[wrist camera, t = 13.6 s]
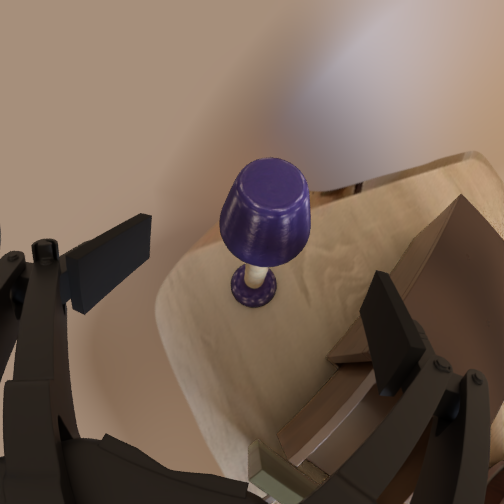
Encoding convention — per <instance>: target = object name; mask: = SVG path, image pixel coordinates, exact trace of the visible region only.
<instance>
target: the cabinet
mask: <svg viewBox="0 0 504 504" xmlns="http://www.w3.org/2000/svg"><path fill="white" fill-rule="evenodd" d="M389 276H390V278H391V280H392V281H393V283H394V285H395V287H396V289H397V291H398V293H399V294H400V296H401V298H402V300H403V302H404V304H405V306H406V308H407V310H408V312H409V314H410V316H411V318H412V319H413V320H416V321H417V322H418V323H419V324H420V325H421V326H422V327H423V329H424V331H425V333H426V335H427V337H428V340H429V341H430V343H431V345H432V347H433V349H434V351H435V354H436V355H438V356H441V357H443V358H445V359H446V360H447V361H449V363H450V364H451V365H452V368H453V373H456V374H458V375H461V376H464V375H465V374H466V372H467V371H468V370H469V369H476V370H478V371H481V372H482V374H484V375H485V377H486V379H487V381H488V385H489V398H490V426H491V424H492V423H493V421H494V419H495V417H496V415H497V413H498V411H499V409H500V407H501V405H502V403H503V401H504V240H503V239H502V238H501V237H500V235H499V234H498V233H497V232H496V231H495V229H494V228H493V227H492V226H491V225H490V224H489V223H488V221H487V220H486V219H485V218H484V217H483V216H482V215H481V214H480V213H479V211H478V210H477V209H476V208H475V207H474V206H473V205H472V204H471V203H470V202H469V201H468V200H467V199H466V198H465V197H464V196H463V195H462V194H460V195H459V196H458V197H457V198H456V199H455V200H454V201H453V202H452V203H451V204H450V205H449V206H448V207H447V208H446V209H445V210H444V211H443V212H442V213H441V214H440V215H439V216H438V217H437V218H436V219H434V220H433V221H432V222H431V223H430V224H429V225H428V226H427V227H426V228H425V229H424V230H423V231H421V232H420V233H419V234H418V235H417V236H416V237H415V238H414V239H413V240H412V242H411V243H410V245H409V247H408V248H407V250H406V251H405V253H404V254H403V256H402V257H401V259H400V260H399V262H398V263H397V265H396V266H395V268H394V269H393V271H392V272H391V274H390V275H389ZM326 359H327V360H329V361H330V362H331V363H332V364H333V365H334V366H335V367H336V368H338V369H339V368H340V367H341V366H342V364H343V363H351V362H367V361H372V360H371V355H370V351H369V347H368V343H367V338H366V334H365V330H364V326H363V323H362V319H361V315H360V316H359V317H358V319H357V320H356V321H355V322H354V324H353V325H352V326H351V327H350V329H349V330H348V331H347V332H346V333H345V335H344V336H343V337H342V338H341V340H340V341H339V342H338V343H337V344H336V346H335V347H334V348H333V349H332V350H331V351H330V353H329V354H328V355H327V356H326ZM432 417H434V416H433V415H432Z"/></svg>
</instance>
